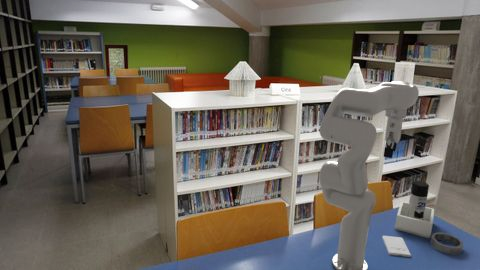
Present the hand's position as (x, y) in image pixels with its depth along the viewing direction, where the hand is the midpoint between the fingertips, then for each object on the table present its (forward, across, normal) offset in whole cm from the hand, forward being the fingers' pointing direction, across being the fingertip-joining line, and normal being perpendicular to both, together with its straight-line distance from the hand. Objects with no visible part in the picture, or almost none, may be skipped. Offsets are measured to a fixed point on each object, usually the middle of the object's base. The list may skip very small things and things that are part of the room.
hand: (389, 153), depth 144 cm
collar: (+36, +4, -26) cm, 45 cm away
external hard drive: (+37, -7, -8) cm, 39 cm away
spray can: (+36, +15, -13) cm, 41 cm away
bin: (+36, +15, -13) cm, 41 cm away
